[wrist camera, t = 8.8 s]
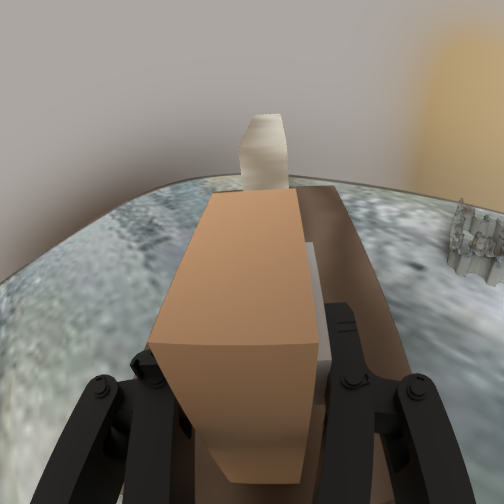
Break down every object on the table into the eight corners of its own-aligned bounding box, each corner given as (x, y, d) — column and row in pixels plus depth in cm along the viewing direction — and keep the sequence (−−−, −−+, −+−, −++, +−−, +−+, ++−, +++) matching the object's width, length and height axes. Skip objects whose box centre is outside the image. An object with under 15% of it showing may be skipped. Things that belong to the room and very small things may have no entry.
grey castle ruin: (452, 226, 31) (458, 195, 29) (505, 244, 26) (514, 213, 24) (437, 271, 24) (447, 231, 22) (505, 295, 20) (521, 257, 18)
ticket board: (333, 196, 39) (332, 110, 33) (427, 494, 9) (587, 347, 3) (214, 202, 41) (202, 118, 35) (112, 491, 11) (-50, 354, 5)
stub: (297, 364, 16) (295, 188, 11) (299, 483, 10) (319, 342, 5) (243, 364, 16) (212, 193, 11) (230, 482, 10) (147, 342, 5)
